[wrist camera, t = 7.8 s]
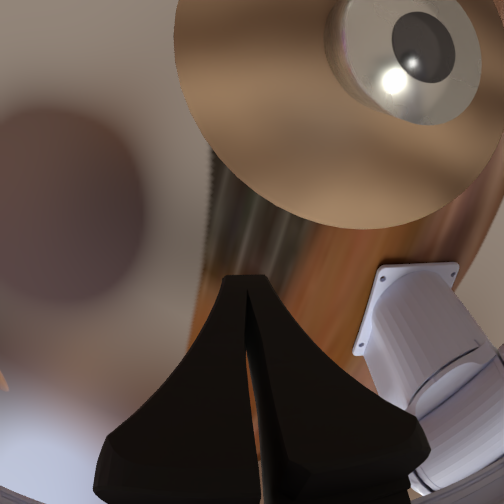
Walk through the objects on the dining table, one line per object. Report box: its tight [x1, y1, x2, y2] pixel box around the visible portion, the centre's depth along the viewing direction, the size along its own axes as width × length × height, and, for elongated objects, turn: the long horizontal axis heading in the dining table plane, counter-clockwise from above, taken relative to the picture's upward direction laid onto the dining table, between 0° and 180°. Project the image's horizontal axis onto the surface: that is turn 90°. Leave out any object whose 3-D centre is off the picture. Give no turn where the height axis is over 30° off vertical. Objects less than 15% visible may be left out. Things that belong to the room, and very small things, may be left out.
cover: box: [323, 0, 482, 126], centre depth 11 cm, size 7×7×3 cm
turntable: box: [174, 0, 504, 229], centre depth 13 cm, size 20×20×1 cm
